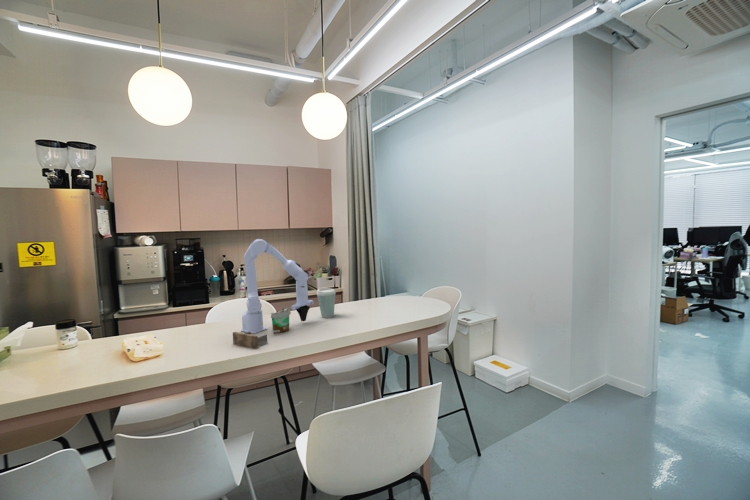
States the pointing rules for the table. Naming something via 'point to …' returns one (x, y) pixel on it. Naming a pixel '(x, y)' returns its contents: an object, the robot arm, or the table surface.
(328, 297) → the disposable coffee cup
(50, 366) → the table surface
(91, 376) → the table surface
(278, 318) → the food container
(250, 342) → the holder bay
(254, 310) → the robot arm
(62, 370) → the table surface
